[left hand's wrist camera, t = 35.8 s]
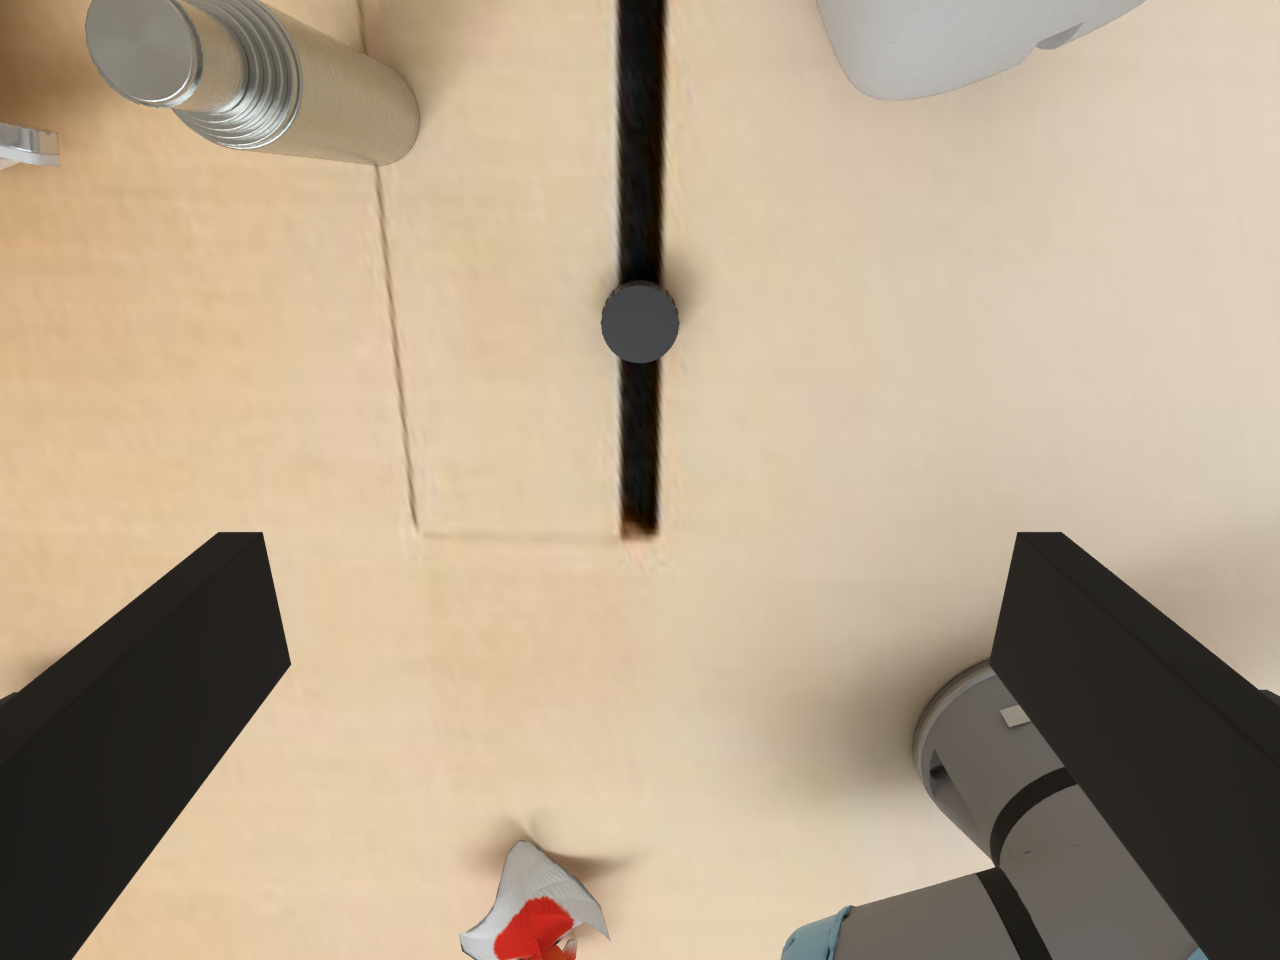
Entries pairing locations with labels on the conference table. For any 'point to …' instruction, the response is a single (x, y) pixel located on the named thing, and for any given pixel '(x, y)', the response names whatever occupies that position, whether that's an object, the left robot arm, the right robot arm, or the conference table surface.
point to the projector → (950, 39)
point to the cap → (640, 321)
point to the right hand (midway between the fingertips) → (41, 30)
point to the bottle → (253, 78)
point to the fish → (533, 911)
